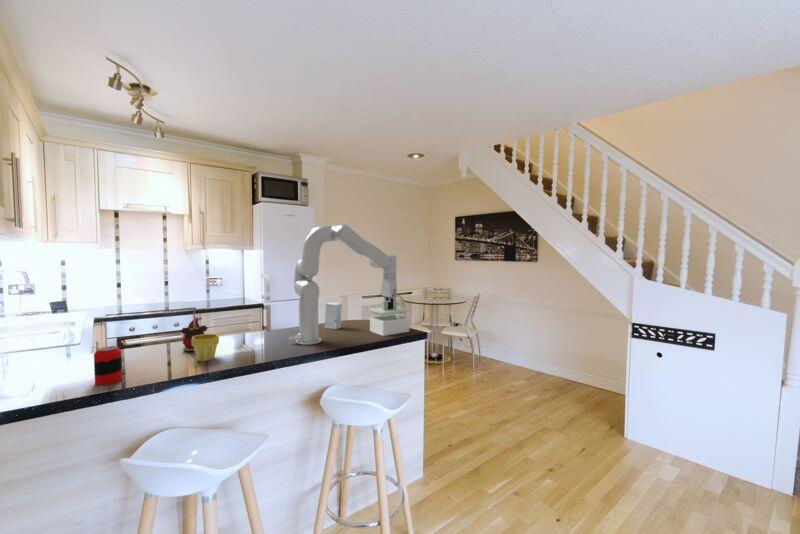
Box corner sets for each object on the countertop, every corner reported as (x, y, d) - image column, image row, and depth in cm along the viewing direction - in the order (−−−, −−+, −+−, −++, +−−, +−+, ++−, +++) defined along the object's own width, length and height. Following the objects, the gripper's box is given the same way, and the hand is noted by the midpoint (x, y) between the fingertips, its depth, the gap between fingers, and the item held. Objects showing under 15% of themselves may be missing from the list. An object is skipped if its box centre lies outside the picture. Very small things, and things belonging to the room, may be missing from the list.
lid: (382, 316, 197) (382, 303, 196) (368, 311, 208) (368, 300, 208) (409, 313, 208) (409, 301, 207) (394, 309, 219) (395, 298, 219)
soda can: (127, 377, 133) (126, 345, 132) (111, 385, 125) (110, 351, 124) (106, 377, 132) (105, 345, 132) (89, 385, 125) (87, 351, 124)
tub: (383, 335, 198) (383, 321, 197) (369, 330, 209) (369, 317, 209) (409, 331, 208) (409, 317, 208) (395, 327, 220) (395, 314, 219)
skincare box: (324, 328, 215) (324, 303, 214) (329, 326, 221) (329, 302, 220) (336, 329, 212) (336, 304, 211) (341, 327, 218) (341, 302, 217)
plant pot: (224, 356, 159) (224, 334, 158) (206, 363, 149) (205, 340, 149) (205, 354, 162) (204, 332, 161) (186, 361, 152) (185, 338, 151)
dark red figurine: (183, 353, 163) (182, 314, 162) (180, 349, 170) (179, 311, 169) (209, 349, 169) (209, 311, 168) (205, 345, 177) (204, 308, 176)
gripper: (376, 275, 211) (375, 307, 212) (392, 277, 198) (391, 311, 199) (387, 275, 216) (386, 306, 217) (403, 277, 203) (402, 310, 204)
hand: (388, 308), depth 208 cm, fingers closed on lid, 2 cm apart
